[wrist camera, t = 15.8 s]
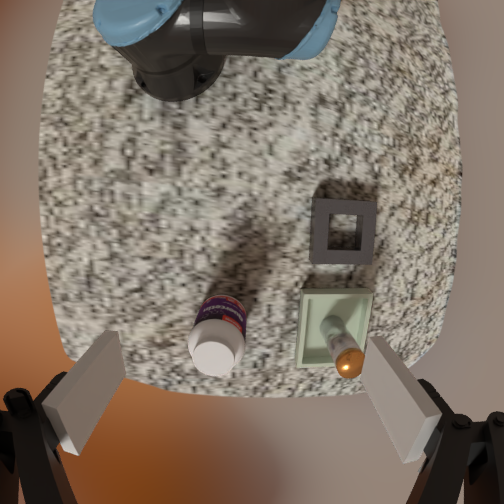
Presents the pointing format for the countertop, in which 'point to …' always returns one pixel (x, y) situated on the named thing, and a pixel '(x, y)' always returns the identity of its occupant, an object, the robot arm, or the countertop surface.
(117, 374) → the robot arm
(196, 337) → the pill bottle
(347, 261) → the socket block
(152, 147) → the countertop surface
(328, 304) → the tray
